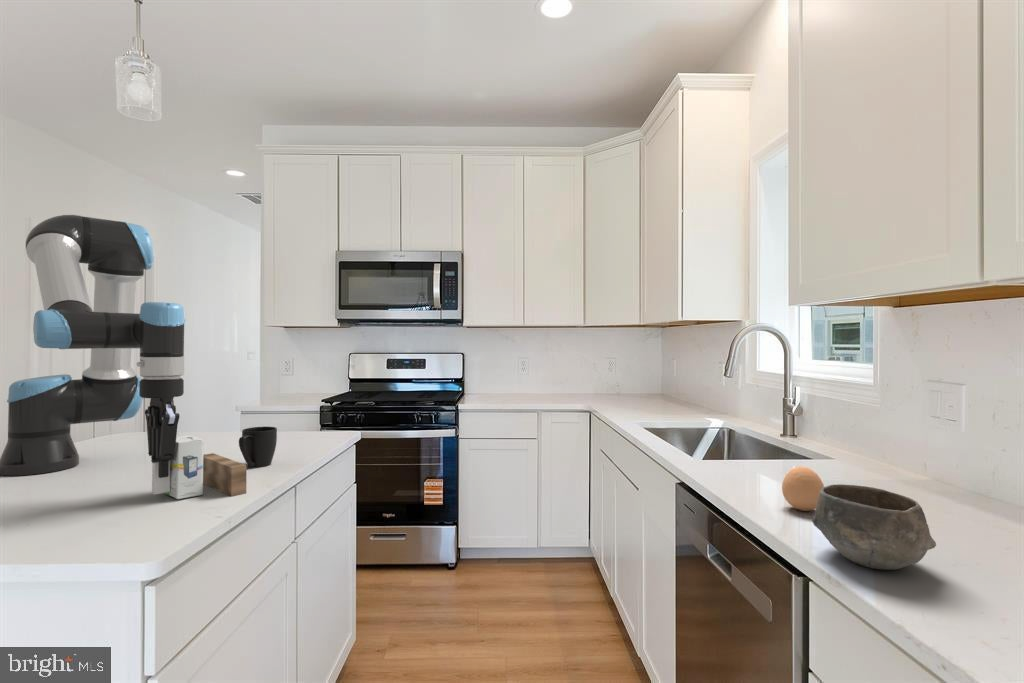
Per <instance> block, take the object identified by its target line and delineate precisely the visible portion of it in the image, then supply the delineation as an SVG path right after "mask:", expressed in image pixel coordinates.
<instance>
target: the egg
mask: <svg viewBox="0 0 1024 683" xmlns="http://www.w3.org/2000/svg"><path fill="white" fill-rule="evenodd" d="M823 487H825V485H824V483H823V481H822V479H821V477H820V476H819V474H818V473H817V472H815V471H814V470H813V469H811V468H809V467H806V466H801V465H800V466H796V467H793V468H791V469H790V470H788V472H787V473H786V474H785V477H783V480H782V484H781V491H782V496H783V497H784V500H785V501H786V502H787V503H788V504H789V505H790V506H791V507H793V509H795V510H798V511H803V512H809V511H814V510H816V506H817V501H818V497H819V494H820V491H821V489H822V488H823Z"/></svg>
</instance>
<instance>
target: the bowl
mask: <svg viewBox="0 0 1024 683" xmlns="http://www.w3.org/2000/svg"><path fill="white" fill-rule="evenodd" d="M814 512H815V513H814V516H813V517H812V520H811V521H812V524H813V526H814V527H815V528H816V529H817V530H819V531H820V532H821V533H822V535H823V536H824V538H825V539H826V540H827V541H828V542H829V543H830V545H831V546H832V547H834V549H836V550H837V551H838V552H839V554H841V555H842V556H843V557H844V558H846V559H848V560H850V561H851V562H853V563H855V564H857V565H859V566H862V567H866V568H869V569H878V570H899V569H903V568H905V567H908V566H911V565H914V564H915V565H916V564H917V563H919V562H920V561H922V559H923V558H925V555H926V554H927V552H928V551H930V550H932V549H935V548H936V546H937V542H936V541H935V540H934V538H933V537H932V534H931V532H930V528H929V524H928V522H927V518H926V515H925V513H924V510H923V508H922V506H921V505H920V504H919V502H918V501H917V500H915V499H913V498H910V497H907V496H906V495H905V496H904V495H902V494H899V493H895V492H892V491H888V490H885V489H882V488H878V487H873V486H872V487H871V486H862V485H857V484H842V483H841V484H839V483H838V484H830V485H826V486H824V487H823V488H822V489H821V491H820V494H819V497H818V501H817V506H816V509H815V511H814Z"/></svg>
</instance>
